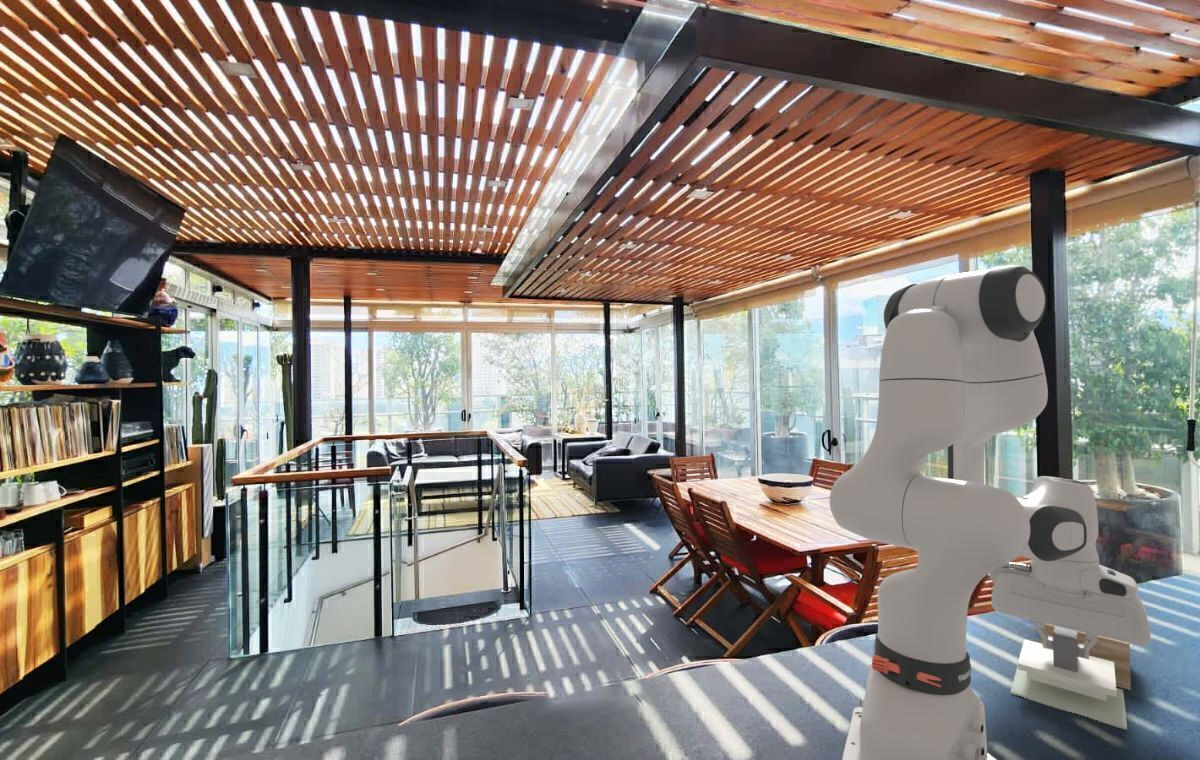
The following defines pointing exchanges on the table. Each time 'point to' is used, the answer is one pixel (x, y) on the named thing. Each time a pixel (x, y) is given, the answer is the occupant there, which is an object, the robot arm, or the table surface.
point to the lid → (1068, 666)
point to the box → (1107, 654)
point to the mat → (1072, 700)
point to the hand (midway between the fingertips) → (1066, 652)
